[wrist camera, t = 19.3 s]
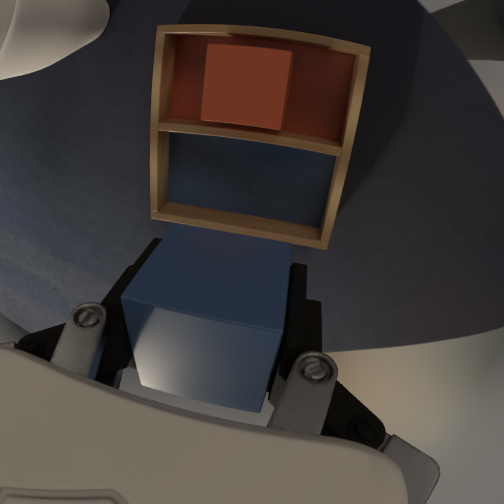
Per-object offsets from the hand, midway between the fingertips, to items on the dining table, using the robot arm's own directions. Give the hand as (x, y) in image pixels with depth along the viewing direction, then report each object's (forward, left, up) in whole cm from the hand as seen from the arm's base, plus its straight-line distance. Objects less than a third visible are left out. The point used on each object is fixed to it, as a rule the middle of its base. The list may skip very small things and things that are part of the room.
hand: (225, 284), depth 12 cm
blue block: (0, 0, 0) cm, 0 cm away
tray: (-4, -1, -13) cm, 13 cm away
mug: (-14, -14, -13) cm, 24 cm away
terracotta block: (-7, -1, -12) cm, 14 cm away
